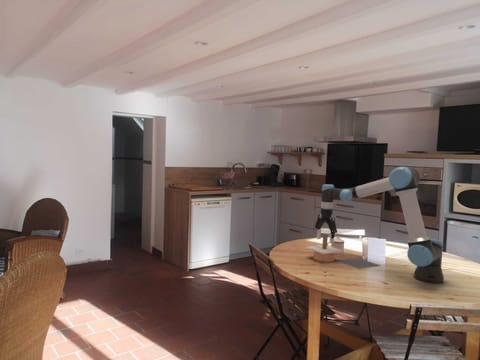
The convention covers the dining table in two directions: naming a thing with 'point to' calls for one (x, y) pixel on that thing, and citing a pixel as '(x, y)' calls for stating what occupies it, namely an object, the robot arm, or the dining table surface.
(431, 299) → the dining table surface
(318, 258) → the bowl
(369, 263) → the mat
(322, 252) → the lid
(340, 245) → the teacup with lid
